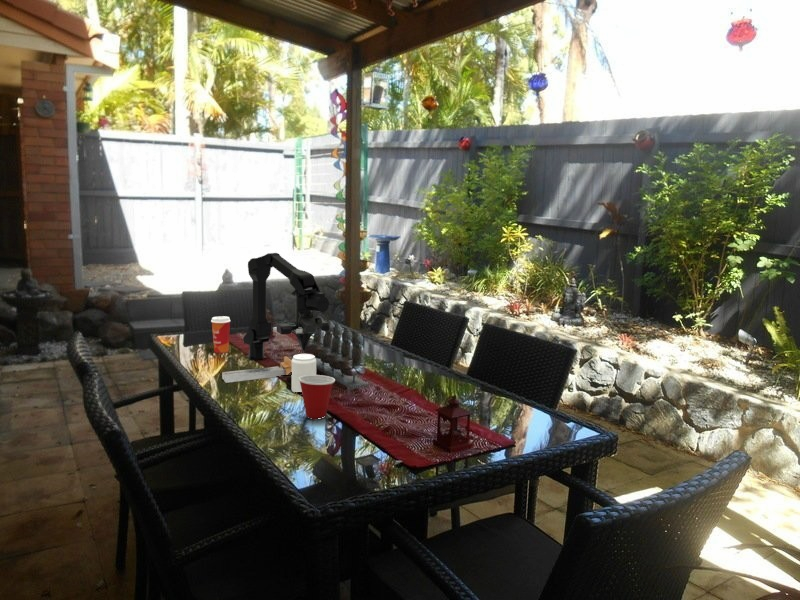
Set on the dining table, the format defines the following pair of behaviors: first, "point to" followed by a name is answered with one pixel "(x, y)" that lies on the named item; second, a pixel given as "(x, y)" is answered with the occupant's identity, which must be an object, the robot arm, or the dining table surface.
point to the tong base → (254, 375)
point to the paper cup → (221, 333)
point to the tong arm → (247, 370)
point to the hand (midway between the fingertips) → (303, 350)
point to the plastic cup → (316, 394)
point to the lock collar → (287, 365)
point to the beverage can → (302, 369)
